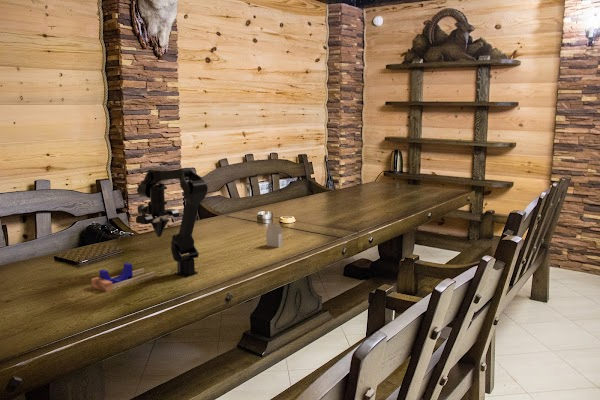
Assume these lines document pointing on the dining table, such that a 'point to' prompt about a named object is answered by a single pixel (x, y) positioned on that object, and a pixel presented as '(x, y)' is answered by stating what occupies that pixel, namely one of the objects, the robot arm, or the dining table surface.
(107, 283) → the guide track
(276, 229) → the grey upright block
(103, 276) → the blue cradle block
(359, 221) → the dining table surface
